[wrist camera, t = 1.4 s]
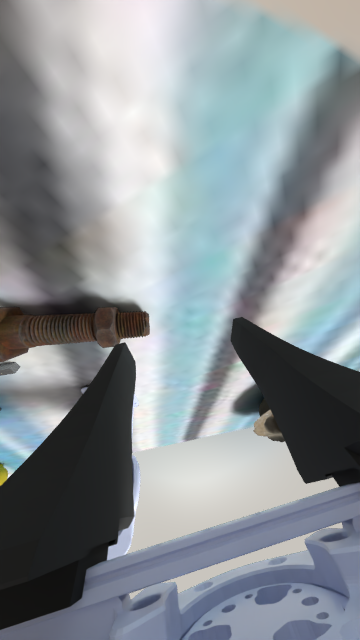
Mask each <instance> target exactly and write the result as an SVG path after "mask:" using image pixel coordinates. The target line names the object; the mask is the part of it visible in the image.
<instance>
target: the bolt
mask: <svg viewBox="0 0 360 640" xmlns="http://www.w3.org/2000/svg"><path fill="white" fill-rule="evenodd" d="M149 334H150V326H149V314H148V313H146V311H145V312H143V311H142V312H140V311H139V312H137V311H136V312H133V313H132V312H130V313H129V312H127V313H126V312H124V313H123V312H121V313H119V310H118V308H117V307H106V308H98V309H97V310H96V313H95V314H94V313H92V314H91V313H89V314H87V313H86V314H64V315H63V314H61V315H59V314H58V315H38V316H36V315H35V316H34V315H24V314H23V312H22V311H21V309H20V308H19V307H0V362H4V361H6V360H9V359H11V358H14V357H17V356H19V355H22V354H24V353H27V352H28V349H29V348H32V347H36V346H42V345H56V344H67V343H68V344H69V343H80V342H88V341H89V342H91V341H97V342H98V344H99V345H100V346H101V347H103V348H106V347H114V346H115V345H116V344H119V343H120V340H121V339H123V338H124V339H125V338H129V337H130V338H132V337H133V338H134V337H136V338H137V337H140V336H142V337H143V336H146V335H149Z"/></svg>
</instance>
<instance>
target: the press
mask: <svg viewBox="0 0 360 640" xmlns="http://www.w3.org/2000/svg"><path fill="white" fill-rule="evenodd" d="M19 368H20V366H19V365H18V364H17V363H15V362H14V363H7V364H1V365H0V376H1V375H7V374H13V373H16V371H17V370H18V369H19ZM0 411H1V408H0Z"/></svg>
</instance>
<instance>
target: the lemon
mask: <svg viewBox="0 0 360 640" xmlns="http://www.w3.org/2000/svg"><path fill="white" fill-rule="evenodd" d="M7 477H8V471H7V470H6V469H5V468H4V467H3V464H0V486H1V485H2V484H3V483H4V482H5V481H6V480H7Z"/></svg>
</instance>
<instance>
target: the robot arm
mask: <svg viewBox="0 0 360 640" xmlns="http://www.w3.org/2000/svg"><path fill="white" fill-rule="evenodd" d="M231 342H232V345H233V347H234V349H235V351H236V353H237V354H238V356H239V358H240V359H241V361H242V362H243V364H244V365H245V367H246V368H247V370H248V371H249V373H250V375H251V376H252V378H253V379H254V381H255V382H256V384H257V386H258V387H259V389H260V391H261V393H262V395H263V396H264V398H265V400H266V402H267V404H268V406H269V408H270V410H271V412H272V414H273V416H274V418H275V420H276V422H277V424H278V427H279V429H280V431H281V433H282V435H283V437H284V439H285V442H286V444H287V446H288V449H289V451H290V453H291V456H292V458H293V460H294V462H295V465H296V467H297V470H298V472H299V474H300V475H301V477H302V479H303V481H304V482H305V483H306V484H307V483H311V482H316V481H320V480H325V479H329V478H332V477H333V478H334V479H335V481H336V482H337V484H338V485H339V486H340V487H338V488H334V489H331V490H328V491H325V492H322V493H319V494H315V495H312V496H309V497H306V498H303V499H300V500H296V501H293V502H290V503H287V504H284V505H281V506H278V507H274V508H271V509H269V510H265V511H262V512H258V513H255V514H252V515H249V516H246V517H243V518H240V519H237V520H233V521H230V522H227V523H224V524H221V525H217V526H214V527H211V528H208V529H205V530H202V531H198V532H195V533H192V534H189V535H186V536H183V537H180V538H176V539H174V540H170V541H167V542H164V543H161V544H157V545H154V546H151V547H148V548H145V549H141V550H138V551H136V552H132V553H129V554H126V553H127V551H128V550H129V548H130V546H131V541H132V536H133V530H134V520H135V513H136V509H137V505H138V500H139V492H140V468H139V464H138V462H137V460H136V457H135V456H134V455H132V431H133V412H134V407H137V406H138V405H139V403H138V401H137V398H136V396H135V393H134V391H135V380H136V366H135V360H134V358H133V356H132V354H131V353H130V351H129V349H128V347H127V345H126V343H121V344H116V345H115V346H114V348H113V350H112V351H111V353H110V354H109V356H108V358H107V359H106V361H105V363H104V364H103V366H102V367H101V369H100V370H99V372H98V373H97V375H96V377H95V378H94V379H93V381H92V382H91V384H90V385H89V387H84V388H82V389H81V392H82V394H83V395H82V396H81V398H80V399H79V400H78V402H77V403H76V404H75V406H74V407H73V408H72V409H71V410H70V412H69V413H68V414H67V415H66V417H65V418H64V419H63V420H62V421H61V422H60V424H59V425H58V426H57V427H56V428H55V429H54V430H53V431H52V433H51V434H50V435H49V436H48V437H47V438H46V439H45V440H44V442H43V443H42V444H41V445H40V446H39V447H38V448H37V449H36V450H35V451H34V452H33V453H32V454H31V455H30V457H29V458H28V459H27V460H26V461H25V462H24V463H23V464H22V465H21V466H20V467H19V468H18V469H17V470H16V471H15V472H14V473H13V474H12V475H11V476H10V477H9V478H8V479H7V480H6V481H5V482H4V483H3V484H2V485H1V486H0V640H360V372H358V371H355V370H353V369H350V368H347V367H344V366H341V365H339V364H336V363H333V362H331V361H328V360H326V359H323V358H321V357H318V356H316V355H314V354H311V353H309V352H307V351H304V350H302V349H300V348H298V347H296V346H294V345H292V344H290V343H288V342H286V341H284V340H282V339H280V338H278V337H276V336H274V335H272V334H271V333H269V332H267V331H265V330H264V329H262V328H260V327H258V326H257V325H255V324H253V323H252V322H250V321H248V320H246V319H245V318H243V317H240V318H236V319H233V326H232V333H231ZM340 522H342V525H343V529H337V528H328V529H322V528H325V527H328V526H331V525H334V524H337V523H340ZM320 529H322V530H320ZM316 530H319V531H317V532H315V533H314V534H312V535H311V536H310V537H308V538H306V539H305V544H306V546H307V549H308V550H306V551H302V552H298V553H293V554H289V555H285V556H280V557H276V558H272V559H267V560H263V561H259V562H255V563H252V564H248V565H245V566H242V567H239V568H236V569H233V570H231V571H228V572H225V573H223V574H220V575H218V576H216V577H213V578H211V579H209V580H207V581H205V582H202V583H200V584H198V585H196V586H194V587H191V588H189V589H187V590H185V591H183V592H181V593H177V585H176V583H175V582H169V583H161V582H164V581H167V580H170V579H173V578H176V577H179V576H182V575H185V574H188V573H191V572H194V571H197V570H200V569H203V568H206V567H209V566H212V565H215V564H218V563H221V562H224V561H227V560H230V559H233V558H236V557H239V556H242V555H245V554H248V553H251V552H254V551H257V550H259V549H262V548H266V547H269V546H272V545H275V544H277V543H280V542H283V541H286V540H290V539H293V538H296V537H298V536H302V535H305V534H308V533H310V532H314V531H316ZM146 587H147V588H146ZM143 588H145V589H144V590H143V591H141V592H140V593H139V594H138V595H136V596H135V597H134V598H133V599H132V600H131V599H130V596H129V593H131V592H134V591H137V590H140V589H143Z"/></svg>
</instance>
